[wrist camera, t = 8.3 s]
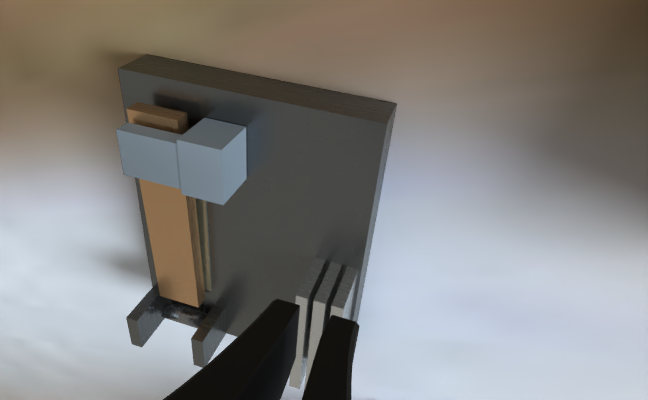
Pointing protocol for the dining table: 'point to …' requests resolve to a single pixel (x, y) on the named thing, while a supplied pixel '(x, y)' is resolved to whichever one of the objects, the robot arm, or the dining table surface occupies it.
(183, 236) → the strap
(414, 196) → the dining table surface
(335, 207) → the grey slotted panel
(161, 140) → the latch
